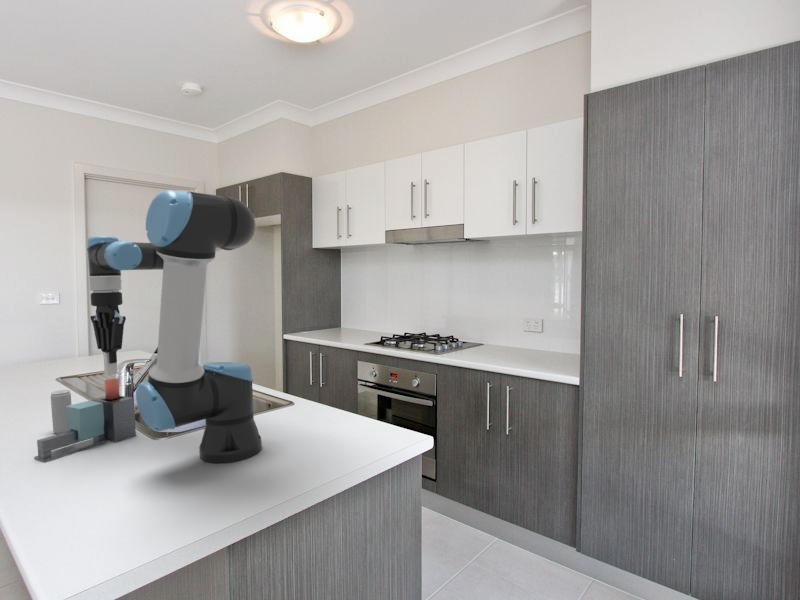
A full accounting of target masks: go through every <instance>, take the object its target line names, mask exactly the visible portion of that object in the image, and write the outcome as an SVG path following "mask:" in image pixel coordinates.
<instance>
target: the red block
mask: <svg viewBox="0 0 800 600" xmlns="http://www.w3.org/2000/svg"><path fill="white" fill-rule="evenodd" d="M104 393H105V395H104V396H106V399H116V398H119V397H120V396H121V395H120V380H119V378H117V377H116V378H115V377H114V378H108V379H105V380H104Z"/></svg>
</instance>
